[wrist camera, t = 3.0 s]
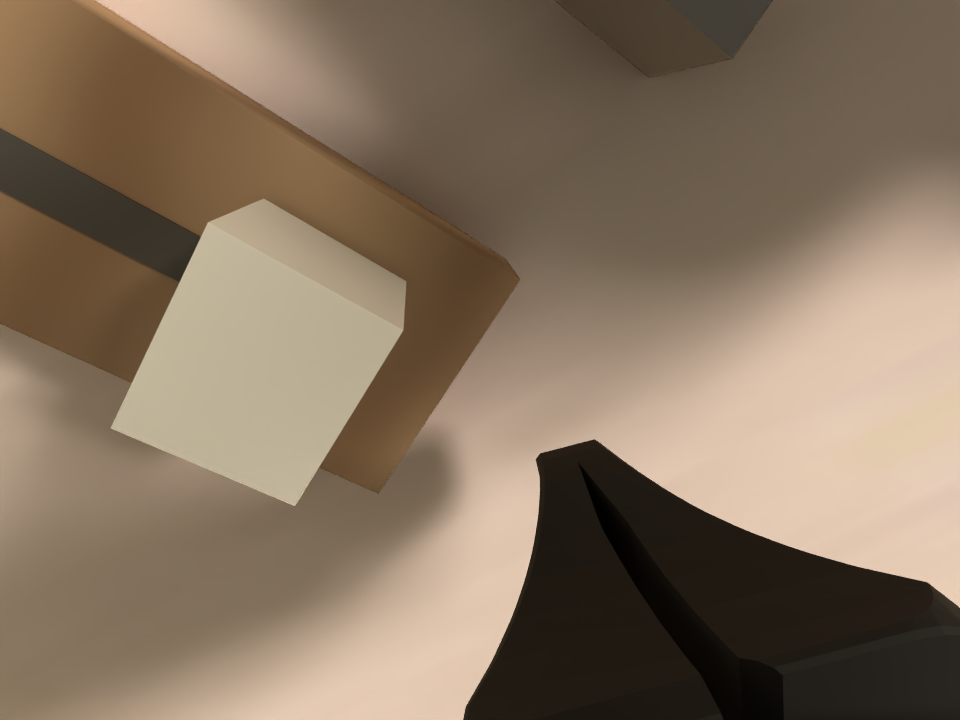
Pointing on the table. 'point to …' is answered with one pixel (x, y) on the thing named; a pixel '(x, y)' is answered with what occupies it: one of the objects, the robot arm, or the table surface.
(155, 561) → the table surface
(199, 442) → the switch tab
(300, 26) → the table surface
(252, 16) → the table surface
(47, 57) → the switch block
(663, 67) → the bar
